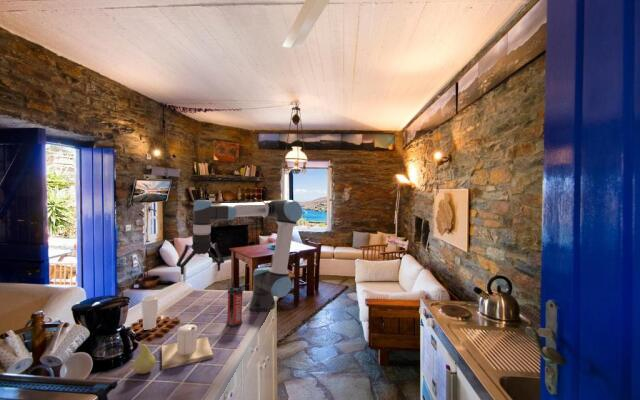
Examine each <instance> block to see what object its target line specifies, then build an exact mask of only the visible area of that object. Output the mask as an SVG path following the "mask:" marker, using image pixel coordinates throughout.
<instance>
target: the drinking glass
mask: <svg viewBox="0 0 640 400" xmlns="http://www.w3.org/2000/svg"><path fill="white" fill-rule="evenodd" d="M158 310H159V297H158V296H157V295H149V296H145V297H143V298H142V300H141V312H142V313H141V315H142V330H143V329H144V330H148V329H152V328H155V327H156V328H157V320H158V319H157V316H158ZM156 328H155V329H156ZM144 330H143V331H144Z"/></svg>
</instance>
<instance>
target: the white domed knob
mask: <svg viewBox="0 0 640 400" xmlns="http://www.w3.org/2000/svg"><path fill="white" fill-rule="evenodd" d="M197 339H198V326H197V325H195V324H184V325H181V326H179V327H178V328H177V340H176V341H177V342H176V343H177V352H178V354H182V355H184V354H185V355H186V354H190V353H193V352H194V351H195V350H196V349H197Z"/></svg>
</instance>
